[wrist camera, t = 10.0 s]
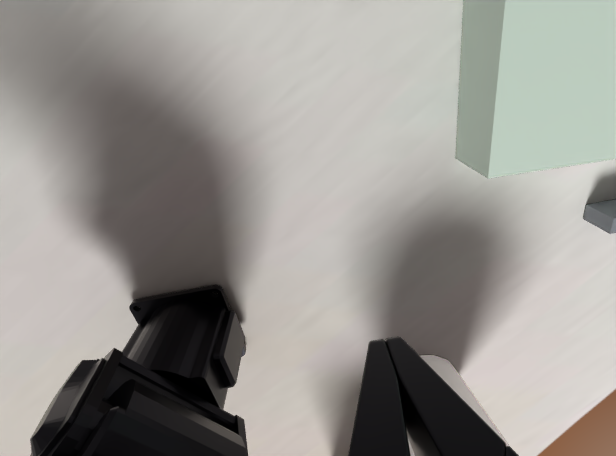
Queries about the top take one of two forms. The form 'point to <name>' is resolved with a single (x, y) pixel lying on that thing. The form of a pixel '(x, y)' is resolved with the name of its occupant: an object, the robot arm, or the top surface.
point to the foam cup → (457, 389)
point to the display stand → (602, 215)
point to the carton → (536, 85)
